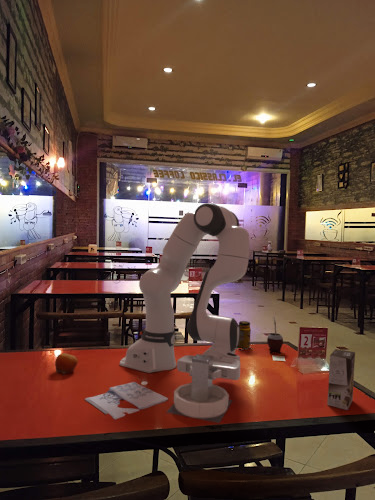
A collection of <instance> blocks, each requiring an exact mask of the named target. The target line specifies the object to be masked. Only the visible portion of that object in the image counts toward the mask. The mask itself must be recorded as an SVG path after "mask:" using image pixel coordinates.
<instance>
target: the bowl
mask: <svg viewBox="0 0 375 500" xmlns="http://www.w3.org/2000/svg"><path fill="white" fill-rule="evenodd" d="M191 391H192V382H189V383H185V384H182V385H179V386H178V387H177V388H176V389H175V390H174V391H173V404H174V406H175V409H176V410H177V411H178V412H179V413H181V414H183V415H185V416H184V417H187V416H188V417H187V418H192V417H193V419H197V418H201V419H207V418H214V417H218V416H221V415H223V414H224V413H225V412H227V411H228V409H227V406H228V401H229V400H230V399H229V398H230V395H229V393H228V392H227V390H226V389H225V388H223V387H221V386H219V385H217V384H213V383H212V396H211V398H210V399H209V401H208V402H204V401H198V400H193V399H191ZM225 414H226V413H225ZM225 414H224V415H225ZM201 419H200V420H201Z"/></svg>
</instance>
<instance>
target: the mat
mask: <svg viewBox="0 0 375 500" xmlns="http://www.w3.org/2000/svg"><path fill="white" fill-rule="evenodd" d="M232 402H233V400H232V399H229V401H228V406H227V410H228V409H229V408H230V406H231V404H232ZM226 412H227V411H226ZM226 412H225V413H224V414H223V415H221V416H218V417H214V418H207V419H201V418H196V419H197V420H201V421H208V422H213V423H216V424H220V423H221V421H222V420H223V418H224V416H225V414H226ZM166 413H167V414H173V415H178V416H183V417H187V418H189V417H188V416H185V415H183V414H181V413H179V412H178V411H177V410H176V409H175V406H174V403H173V404H172V405H171V406H170V407H169V408H168V409H167V411H166ZM191 418H193V417H191ZM193 419H194V418H193Z"/></svg>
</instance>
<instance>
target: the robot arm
mask: <svg viewBox="0 0 375 500" xmlns="http://www.w3.org/2000/svg"><path fill="white" fill-rule="evenodd" d="M207 235H209V236H211V237H216V239H217V240H218V249H217V250H218V251H217V257H216V260H215V262H214V264H213V265H212V267H211V268H208V269H206V271H205V273H204V275H203V279H202V280H201V281H202V282H201V284H200V286H199V289H198V293H197V296H196V299H195V302H194V305H193V309H192V311H191V314H190V316H189V319H188V321H187V325H186V333H188V336H189V337H190V338H191V339H192V341H197V342H198V341H199V342H207V343H213V344H212V345H211V346H210V347H208V348H207V350H205V351H204V352H203V353H202V354H201V355H209V356H214V359H213V372H211V373H210V379H212V380H213V381H215V380H216V379H219V378H220V379H225V380H231V381H232V380H233V381H238V380H239V379H240V377H241V376H240V375H241V356H240V355H239V354H236V350H237V349H236V348H237V346H238V344H239V340H240V327H239V322H238V321H237V320H236V319H235V318H234V317H231V316H230V317H229V316H223V315H216V314H211V313H208V312H207V308H208V306H209V302H210V298H211V296H212V293H213V291H214V289H216V288H217V287H218V286H221V285H227V284H230V283H234V282H236V281H238V280H241V278H242V277H243V278H244V276H245V274H246V273H247V270H248V266H249V259H250V248H251V247H250V246H251V245H250V234H249V231H248V230H247V229H246V228H245V227H242V226H240V220H239V218H238V217H237V215H236V214H235V213H234V212H233V211H230V209H227V208H226V207H224V206H220V205H217V204H215V203H211V202H207V203H202V204H201V205H199V206H198V207H197V208H196V209H195V211H188V212H187V213H184V215H183V217H181V219H180V220H179V222H178V223H177V225H175V228H174V229H173V231H172V233H171V234H170V236H169V238H168V240H167V242H166V244H165V245H164V247H163V250H162V255H161V258H160V261H159V264H158V265H157V266H156V267H154V268H150V269H149V270H147V271H145V273H143V275H141V277H140V278H139V282H138V286H139V289H140V292H141V293H142V295H143V300H144V305H145V328H144V329H142V330H141V331H140V332H139V336H141V338H139V339H138V340H136V341H135V342H134V343H132V344H131V345H130V346H129V347H128V348H127V349H126V353H125V357H123V358H122V359H120V361H119V366H122V367H124V368H129V369H132V370H136V371H140V372H144V373H149V374H151V373H156V372H162V371H170V370H173V369H175V368H176V369H177V371H178V372H181V373H187V374H188V375H189V376H188V377H192V358H194V357H195V356H196V355H191V354H189V355H188V354H187V355H184V356H181V357H180V358H178V359H177V361H176V357H175V348H174V346H175V339H176V338H175V335H176V334H175V329H174V325H175V310H174V307H173V304H172V303H173V302H172V298H171V296H172V295H171V293H172V292H174V291H176V289H178V287H179V286H180V283H181V280H182V278H183V276H184V273H185V271H186V269H187V266H188V264H189V262H190V260H191V258H192V257H193V255H194V254H195V252H196V250H197V249H198V246H199V245H200V243H201V242H202V240H203V238H204V237H205V236H207Z"/></svg>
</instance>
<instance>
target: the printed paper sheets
mask: <svg viewBox="0 0 375 500" xmlns="http://www.w3.org/2000/svg"><path fill="white" fill-rule="evenodd" d="M120 400H123V401H126V402H128V403H130V404H132V405H134V406H135V407H137V408H132V407H131V408H127V407H126V408H124V407H119V405H120V404H121V402H120ZM168 400H169V398H168V397H166V396H164V395H162V394H160V393H158V392H156V391H153V390H152V389H149V388H147V387H145V386H144V385H141V384H139V383H137V382H135V381H131V382H129V383H124V384H120V385H115V386H111V387H109V390H107V391H106V392H105V393H102V394H98V395H94V396H90V397H86V398H84V401H86V402H87V403H88V404H90V405H92V406H93V407H95V408H96V409H98V410H99V411H100V412H102V413H103V414H105V415H107V414H108V415H109V416H111V417H112V419H114V420H117V419H120V418H123V417H125V416H126V414H129V415H130V414H133V413H136V412H139V411H140V410H144V409H148V408H150V407H152V406H156V405H159V404H162V403H165V402H167V401H168ZM125 413H126V414H125Z"/></svg>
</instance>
